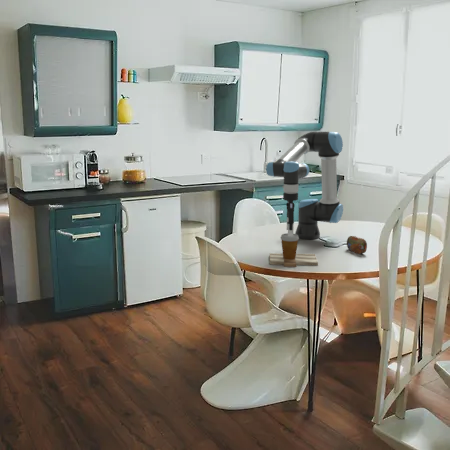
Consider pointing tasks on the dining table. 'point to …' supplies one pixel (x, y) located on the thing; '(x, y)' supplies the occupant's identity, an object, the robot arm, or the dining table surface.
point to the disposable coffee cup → (289, 245)
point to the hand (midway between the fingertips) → (289, 233)
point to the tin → (356, 244)
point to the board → (293, 260)
